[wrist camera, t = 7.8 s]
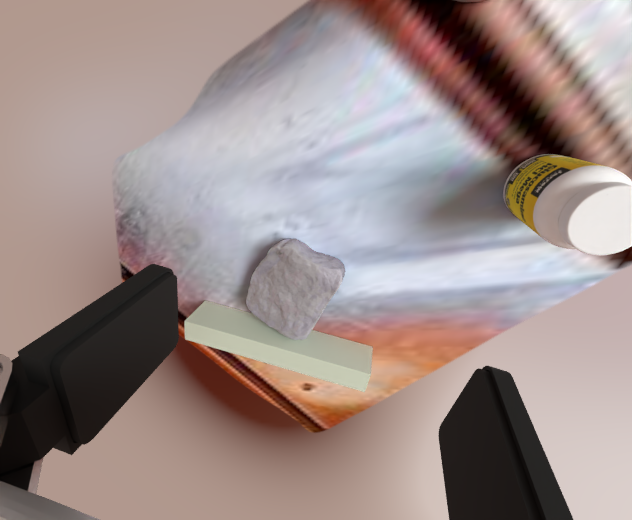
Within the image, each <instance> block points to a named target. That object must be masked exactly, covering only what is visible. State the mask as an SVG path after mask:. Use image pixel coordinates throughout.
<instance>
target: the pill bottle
mask: <svg viewBox="0 0 632 520" xmlns="http://www.w3.org/2000/svg"><path fill="white" fill-rule="evenodd" d="M503 198H504V202H505V204H506V206H507V208H508V209H509V210H510V212H511V213H512V214H514V215H515V216H516V217H517V218H519V219H520V220H521V221H522V222H523V223H525V224H526V225H527V226H528V227H530V228H531V229H532V230H533V231H535V232H536V233H537V234H538V235H539V236H541V237H542V238H543V239H545V240H546V241H548V242H549V243H551V244H553V245H556V246H558V247H562V248H567V249H577V250H579V251H581V252H583V253H586V254H591V255H609V254H614V253H617V252H620V251H623V250H625V249H627V248H629V247H631V246H632V181H631V180H630V179H629V178H628V177H627V176H626V175H625V174H623V173H622V172H620V171H618V170H616V169H613V168H611V167H607V166H603V165H599V164H595V163H590V162H586V161H582V160H578V159H574V158H570V157H565V156H561V155H555V154H544V155H538V156H535V157H532V158H530V159H528V160H526V161H524V162H522V163H521V164H520V165H518V166H517V167H516V168H515V169H514V170H513V171H512V172H511V174H510V175H509V177H508V178H507V180H506V183H505V186H504V190H503Z"/></svg>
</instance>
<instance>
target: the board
mask: <svg viewBox="0 0 632 520" xmlns="http://www.w3.org/2000/svg"><path fill="white" fill-rule="evenodd" d="M185 339H186V340H189V341H193V342H196V343H200V344H203V345H206V346H210V347H213V348H217V349H220V350H223V351H227V352H230V353H234V354H237V355H240V356H244V357H247V358H251V359H254V360H257V361H261V362H264V363H268V364H271V365H274V366H278V367H281V368H285V369H288V370H291V371H295V372H298V373H301V374H305V375H308V376H312V377H315V378H318V379H322V380H325V381H329V382H332V383H335V384H339V385H342V386H346V387H349V388H352V389H356V390H359V391H363V392H365V390H366V387H367V384H368V381H369V378H370V375H371V365H372V351H373V347H372V346H368V345H365V344H361V343H358V342H354V341H350V340H347V339H343V338H339V337H336V336H332V335H329V334H325V333H321V332H318V331H314V330H312V331H311V332H310V334H309V335H308V336H307V338H306V339H303V340H300V339H299V340H293V339H290V338H288V337H286V336H284V335H283V334H281V333H279V332H278V331H277V330H276V329H274V328H272V327H269V326H268V325H267V324H266V323H265V322H263V321H262V320H261V319H259V318H258V317H257V316H255V315H254V314H253V313H249V312H245V311H242V310H238V309H234V308H231V307H227V306H224V305H220V304H216V303H213V302H209V301H206V300H205V301H204V302H203V303H202V304H201V305H200V306H199V307H198V308H197V309H196V310H195V311H194V312H193V313H192V314H191V315H190V316H189V317H188V318H187V319H186V320H185Z"/></svg>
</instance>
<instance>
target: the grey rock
mask: <svg viewBox="0 0 632 520" xmlns="http://www.w3.org/2000/svg"><path fill="white" fill-rule="evenodd" d="M344 273H345V268H344V264H343V263H342V262H341V261H340V260H339V259H337V258H334V257H331V256H329V255H325V254H323V253H318V252H316V251H314V250H312V249H311V248H310V247H309V246H308V245H306V244H305V243H303V242H301V241H299V240H297V239H285V240H282V241H280V242H279V243H277V244H275V245H274V246H273V247H271V248H270V250H269V251H268V253H267V255H266V257H265V258H264V259H263V260H262V261H261V262H260V264H259V265H258V266H257V267H256V269H255V271H254V273H253V274H252V276H251V280H250V286H249V289H248V295H247V298H246V305H247V307H248V308H249V310H250V311H251V312H252V313H253V314H254V315H255V316H257V317H258V318H259V319H261V320H262V321H263V322H265V323H266V324H267V325H268V326H269V327H272V328H274V329H276V330H277V331H278V332H279V333H281V334H283V335H284V336H286V337H288V338H290V339H293V340H299V339H300V340H303V339H306V338H307V336H308V335H309V334H310V332H311V331H312V329H313V328H314V326H315V324H316V323H317V321H318V319H319V318H320V316H321V314H322V312H323V311H324V309H325V307H326V306H327V304H328V302H329V301H330V300H331V298H332V296H333V295H334V294H335V293H336V291H337V290H338V288H339V286H340V284H341V282H342V280H343V277H344V275H345V274H344Z"/></svg>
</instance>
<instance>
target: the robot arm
mask: <svg viewBox="0 0 632 520" xmlns="http://www.w3.org/2000/svg"><path fill="white" fill-rule="evenodd" d="M454 1H459V2H479V1H483V0H454ZM178 336H179V335H178V297H177V277H176V276H175V275H173V271H172V270H171V269H169V268H166V267H163V266H159V265H156V264H151V265H149V266H147V267H146V268H144V269H143V270H141V271H140V272H138V273H137V274H135V275H134V276H132V277H131V278H129V279H128V280H126V281H125V282H123V283H122V284H120V285H119V286H117V287H116V288H114V289H113V290H111V291H109V292H108V293H106V294H105V295H103V296H102V297H100V298H99V299H97V300H96V301H94V302H93V303H91V304H90V305H88V306H87V307H85V308H84V309H82V310H81V311H79V312H77V313H76V314H74V315H73V316H72V317H70V318H68V319H67V320H65V321H64V322H62V323H61V324H59V325H58V326H56V327H55V328H53V329H52V330H50V331H49V332H47V333H46V334H44V335H43V336H41V337H40V338H38V339H37V340H35V341H33V342H32V343H30V344H29V345H27V346H26V347H25V348H23V349H21V350H20V351H18V354H19V356H18V357H17V358H15V359H14V360H12V361H11V360H10V359H9V358H8V357H6V356H4V355H2V354H0V520H99V519H97V518H94V517H92V516H89V515H87V514H84V513H82V512H79V511H77V510H74V509H72V508H70V507H67V506H64V505H62V504H60V503H57V502H54V501H52V500H49V499H47V498H44V497H42V496H39V495H36V492H37V487H38V481H39V477H40V472H41V467H42V462H43V457H44V456H45V455H46V454H47V453H48V452H49V451H50V450H51V449H52V448H55V449H58V450H60V451H63V452H66V453H68V454H71V455H72V454H73V453H74V452H75V451H76V450H77V448H79V447H80V446H81V445H82V444H86V443H88V442H90V441H91V440H92V439H93V438H94V437H95V436H96V435H97V434H98V433H99V431H100V430H101V429H102V428H103V427H104V426H105V425H106V423H108V421H109V420H110V419H111V418H112V417H113V416H114V415H115V414H116V412H117V411H118V410H119V409H120V408H121V407H122V406H123V405H124V404H125V403H126V402H127V400H128V399H129V398H130V397H131V396H132V395H133V394H134V393H135V392H136V390H137V389H138V388H139V387H140V386H141V385H142V384H143V383H144V382H145V380H146V379H147V378H148V377H149V376H150V375H151V374H152V373H153V371H154V370H155V369H156V368H157V367H158V366H159V365H160V364H161V363H162V362H163V360H164V359H165V358H166V357H167V356H168V355H169V354H170V353H171V352H172V351H173V349H174V348H175V347H176V345H177V342H178V338H179V337H178ZM439 443H440V450H441V459H442V466H443V474H444V481H445V489H446V497H447V505H448V512H449V520H573V518H572V515H571V513H570V511H569V508H568V506H567V504H566V501H565V499H564V497H563V495H562V492H561V490H560V487H559V485H558V483H557V480H556V478H555V476H554V473H553V471H552V469H551V466H550V464H549V462H548V459H547V457H546V455H545V452H544V450H543V448H542V445H541V443H540V441H539V438H538V436H537V434H536V431H535V429H534V427H533V424H532V422H531V420H530V417H529V415H528V413H527V410H526V408H525V406H524V403H523V401H522V399H521V396H520V394H519V392H518V389H517V387H516V385H515V382H514V380H513V377H512V376H511V374H510V373H508V372H507V371H503V370H500V369H497V368H493V367H490V366H485V367H483V369H477V370H476V371H475V372H474V374H473V375H472V377H471V378H470V380H469V382H468V383H467V384H466V386H465V388H464V389H463V391H462V392H461V394H460V395H459V397H458V399H457V400H456V402H455V404H454V405H453V406H452V408H451V410H450V411H449V413H448V414H447V416H446V417H445V419H444V421H443V422H442V424H441V426H440V429H439Z"/></svg>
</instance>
